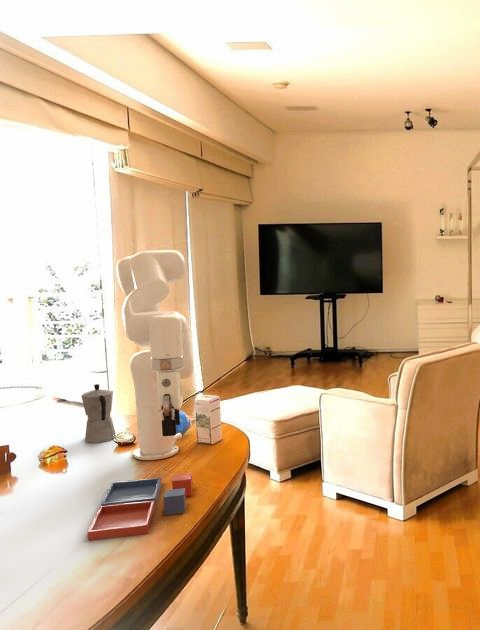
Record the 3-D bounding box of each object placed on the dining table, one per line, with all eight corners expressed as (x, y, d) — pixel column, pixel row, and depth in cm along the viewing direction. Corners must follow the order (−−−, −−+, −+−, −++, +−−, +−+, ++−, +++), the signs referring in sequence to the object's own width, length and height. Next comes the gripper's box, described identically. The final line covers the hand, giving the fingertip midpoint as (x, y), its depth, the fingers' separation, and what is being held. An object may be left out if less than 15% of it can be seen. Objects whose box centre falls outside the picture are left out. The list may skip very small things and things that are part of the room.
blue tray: (112, 489, 176) (111, 482, 176) (161, 484, 179) (161, 477, 179) (101, 511, 162) (101, 503, 162) (155, 505, 166) (155, 498, 165)
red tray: (100, 514, 161) (100, 506, 161) (155, 508, 164) (154, 500, 164) (88, 540, 148) (87, 531, 147) (147, 533, 151) (147, 524, 150)
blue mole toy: (205, 436, 220) (203, 411, 219) (167, 442, 214) (165, 417, 213) (195, 427, 230) (194, 403, 229) (159, 433, 224) (157, 408, 223)
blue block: (166, 507, 165) (165, 490, 164) (186, 505, 166) (185, 488, 165) (164, 515, 160) (163, 497, 160) (184, 513, 161) (183, 495, 161)
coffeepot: (80, 436, 221) (76, 382, 219) (111, 430, 227) (107, 378, 225) (90, 448, 209) (86, 391, 207) (122, 442, 215) (119, 387, 212)
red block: (174, 491, 175) (173, 474, 174) (192, 489, 176) (191, 473, 175) (173, 498, 170) (171, 481, 170) (191, 496, 171) (190, 479, 171)
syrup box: (222, 439, 217) (220, 395, 215) (211, 445, 211) (209, 399, 209) (207, 437, 219) (205, 394, 217) (196, 443, 213) (193, 398, 211)
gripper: (180, 369, 162) (184, 438, 164) (186, 357, 178) (189, 420, 180) (146, 371, 160) (151, 441, 162) (155, 358, 176) (159, 422, 178)
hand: (171, 430), depth 171 cm, fingers open, 9 cm apart
